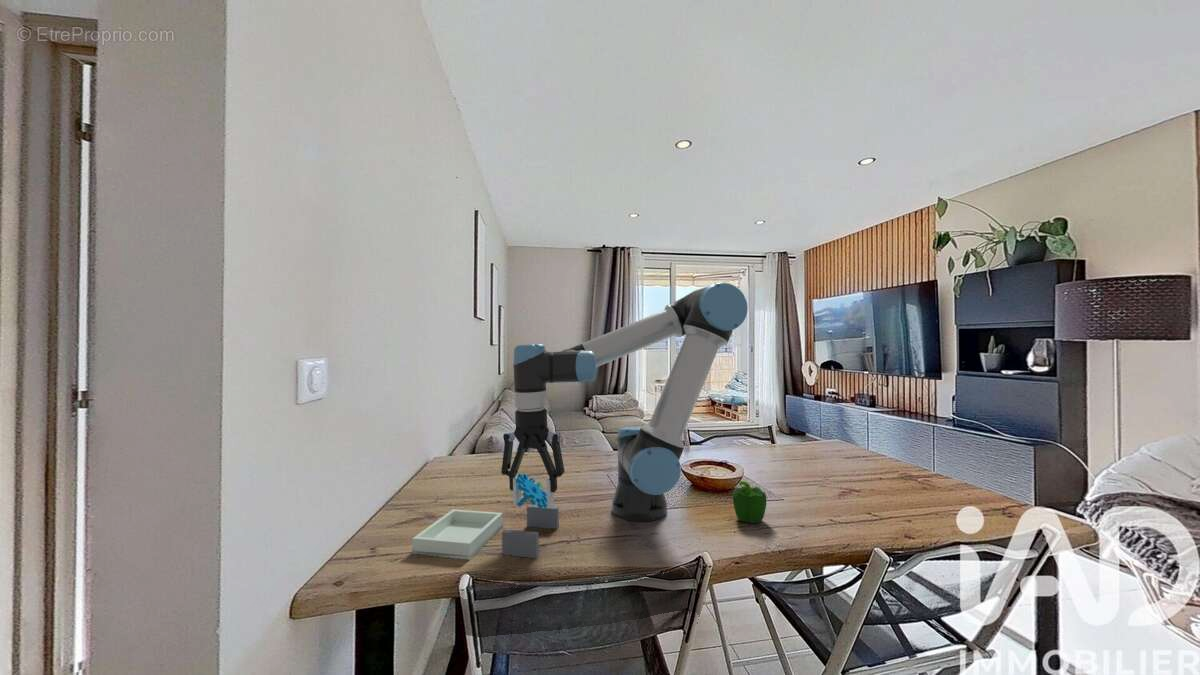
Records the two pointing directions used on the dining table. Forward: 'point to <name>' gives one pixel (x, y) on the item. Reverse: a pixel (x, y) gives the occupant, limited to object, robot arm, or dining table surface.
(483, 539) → the parts tray
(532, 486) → the gear
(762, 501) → the bell pepper
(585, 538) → the dining table surface
